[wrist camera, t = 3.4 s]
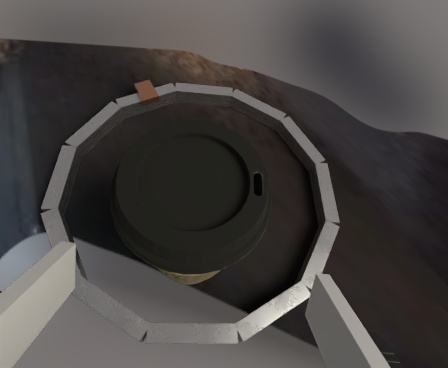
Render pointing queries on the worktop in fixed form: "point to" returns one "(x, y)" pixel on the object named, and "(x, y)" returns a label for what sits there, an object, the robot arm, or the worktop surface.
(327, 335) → the robot arm
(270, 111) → the centring ring
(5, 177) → the worktop surface
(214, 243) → the coffee cup
